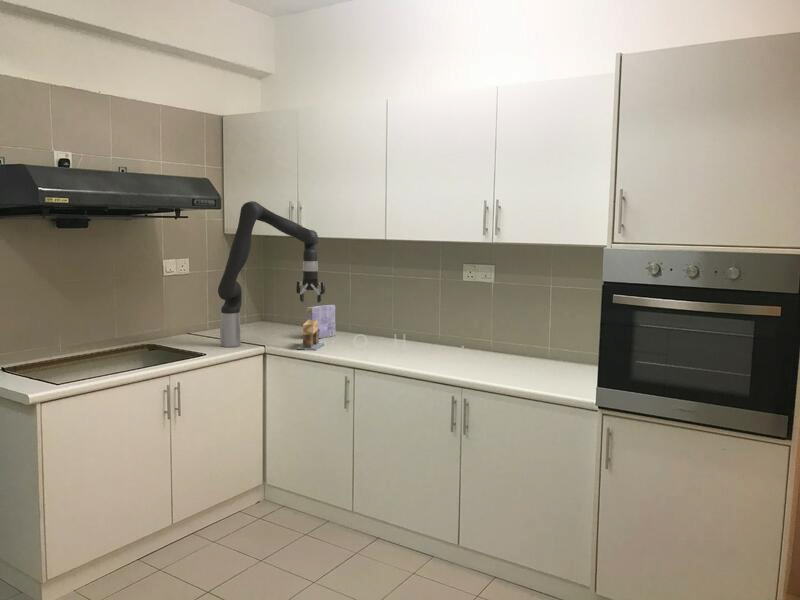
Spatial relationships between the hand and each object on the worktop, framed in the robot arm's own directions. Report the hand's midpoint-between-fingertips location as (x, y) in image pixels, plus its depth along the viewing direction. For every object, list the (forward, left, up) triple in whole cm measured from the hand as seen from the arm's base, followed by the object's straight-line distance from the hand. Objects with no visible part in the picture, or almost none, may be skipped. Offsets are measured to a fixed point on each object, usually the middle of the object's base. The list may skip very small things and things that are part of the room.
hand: (310, 302), depth 326 cm
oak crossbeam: (0, 0, -15) cm, 15 cm away
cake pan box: (-3, +28, -24) cm, 37 cm away
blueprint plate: (0, 0, -23) cm, 23 cm away
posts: (0, 0, -23) cm, 23 cm away
